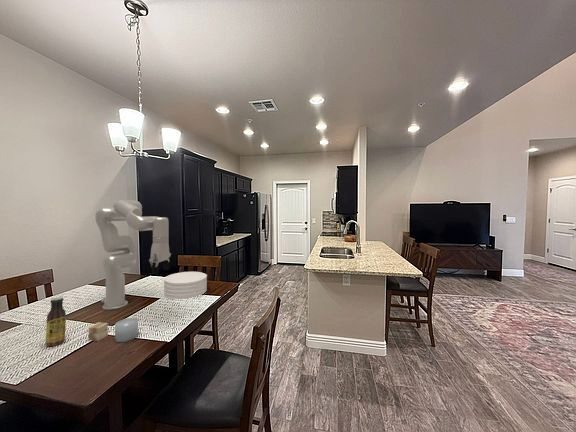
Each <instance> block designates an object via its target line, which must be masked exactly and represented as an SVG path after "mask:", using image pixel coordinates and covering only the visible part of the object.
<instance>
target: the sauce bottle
mask: <svg viewBox="0 0 576 432" xmlns="http://www.w3.org/2000/svg"><path fill="white" fill-rule="evenodd" d="M63 301H64V297H63V296H61V297H53V298H51V299H50V310H49V311H48V313H47V315H46V326H45V327H46V328H45V329H46V330H45V345H46V346H47V347H53V346H54V347H55V346H59V345H60V344H62V343H63V344H64V342H65V339H66V322H67V318H66V309H64V307H63V304H64V303H63Z"/></svg>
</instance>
